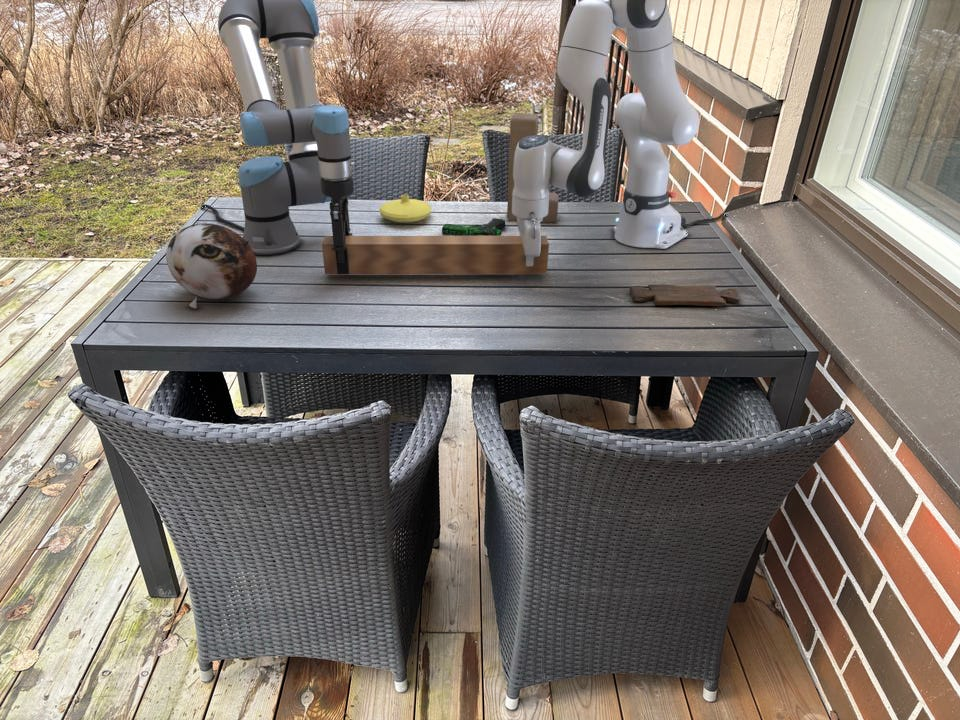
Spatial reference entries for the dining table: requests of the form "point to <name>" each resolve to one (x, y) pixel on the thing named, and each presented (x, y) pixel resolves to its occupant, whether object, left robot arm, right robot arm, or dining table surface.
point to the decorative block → (518, 130)
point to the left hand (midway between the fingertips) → (344, 267)
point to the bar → (435, 255)
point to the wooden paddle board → (684, 295)
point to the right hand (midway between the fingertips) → (527, 259)
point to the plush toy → (211, 261)
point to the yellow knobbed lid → (405, 210)
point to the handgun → (475, 229)
